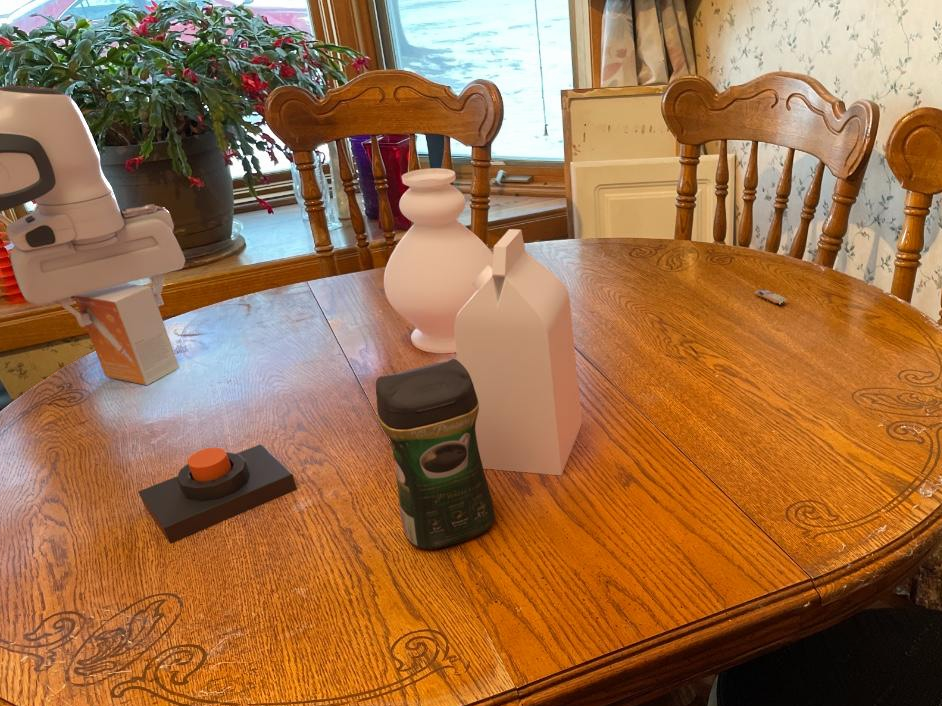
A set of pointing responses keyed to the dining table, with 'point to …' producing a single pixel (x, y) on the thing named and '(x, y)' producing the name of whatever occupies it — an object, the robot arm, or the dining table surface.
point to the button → (209, 464)
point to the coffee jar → (436, 453)
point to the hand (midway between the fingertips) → (122, 314)
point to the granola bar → (771, 295)
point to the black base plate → (216, 493)
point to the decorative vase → (434, 260)
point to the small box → (128, 333)
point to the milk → (521, 362)
